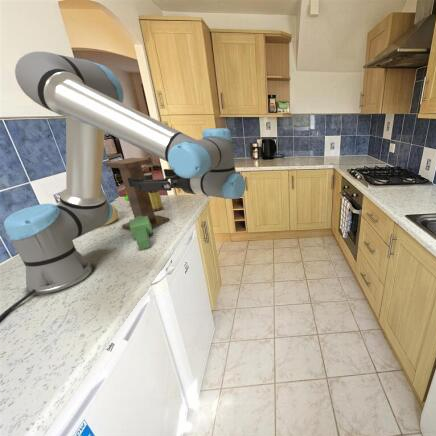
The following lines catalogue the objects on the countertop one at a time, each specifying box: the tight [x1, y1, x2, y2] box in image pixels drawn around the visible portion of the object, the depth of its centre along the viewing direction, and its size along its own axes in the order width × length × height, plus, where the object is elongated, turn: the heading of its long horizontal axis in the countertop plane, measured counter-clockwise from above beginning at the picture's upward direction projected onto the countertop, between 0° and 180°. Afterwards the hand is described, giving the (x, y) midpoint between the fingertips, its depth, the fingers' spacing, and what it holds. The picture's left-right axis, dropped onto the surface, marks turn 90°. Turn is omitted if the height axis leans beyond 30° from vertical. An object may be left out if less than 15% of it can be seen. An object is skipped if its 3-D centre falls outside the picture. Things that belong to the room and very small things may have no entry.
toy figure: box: [129, 216, 154, 251], centre depth 101 cm, size 7×23×5 cm, turn 31°
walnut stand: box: [105, 157, 170, 230], centre depth 109 cm, size 14×14×30 cm
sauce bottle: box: [143, 172, 164, 212], centre depth 129 cm, size 6×6×20 cm
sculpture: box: [103, 202, 119, 226], centre depth 116 cm, size 12×12×11 cm
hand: (148, 177), depth 82 cm, fingers open, 13 cm apart
